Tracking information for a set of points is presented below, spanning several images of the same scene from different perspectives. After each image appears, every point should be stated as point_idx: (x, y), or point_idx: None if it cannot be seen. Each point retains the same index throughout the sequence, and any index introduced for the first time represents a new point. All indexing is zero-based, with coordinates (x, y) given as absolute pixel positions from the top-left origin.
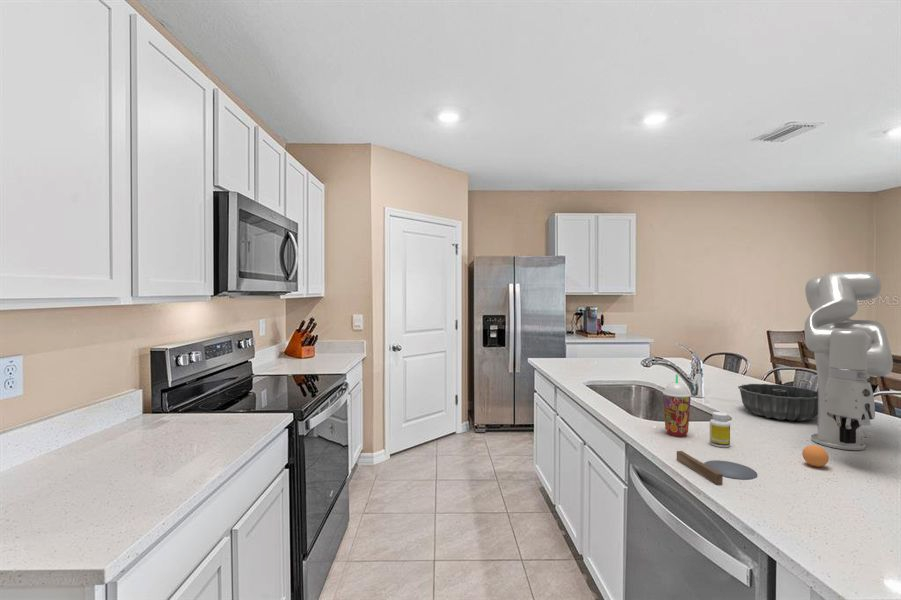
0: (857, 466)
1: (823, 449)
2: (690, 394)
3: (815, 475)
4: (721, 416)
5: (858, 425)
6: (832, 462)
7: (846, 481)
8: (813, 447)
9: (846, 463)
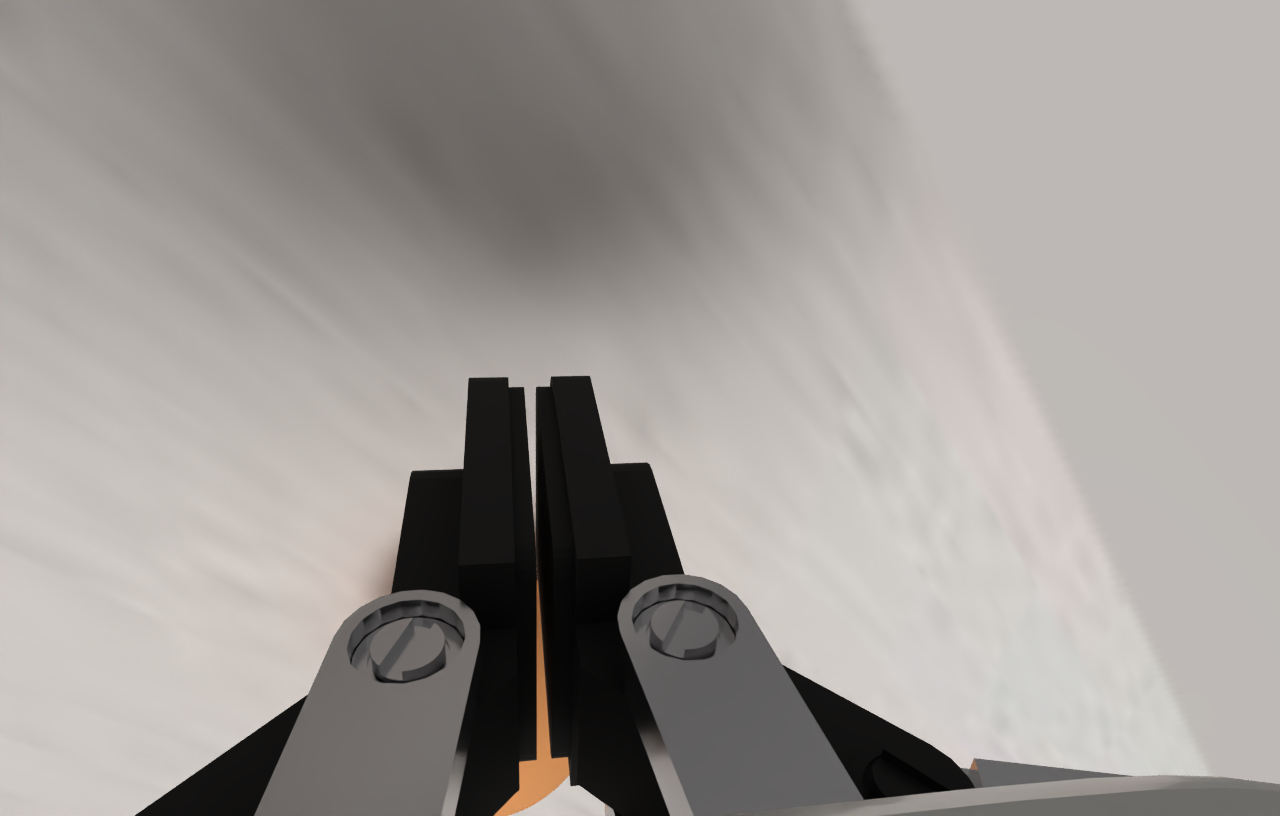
0: (537, 184)
1: (546, 729)
2: None
3: None
4: None
5: (835, 748)
6: (386, 368)
7: (812, 606)
8: (509, 811)
9: (426, 226)
